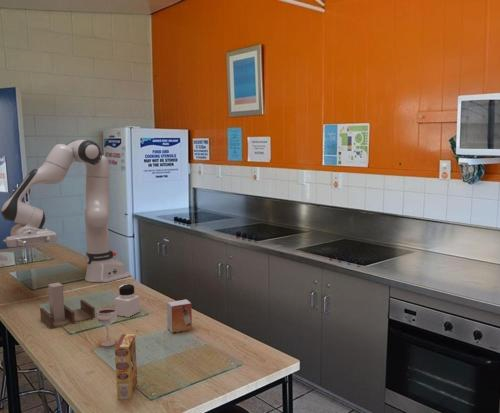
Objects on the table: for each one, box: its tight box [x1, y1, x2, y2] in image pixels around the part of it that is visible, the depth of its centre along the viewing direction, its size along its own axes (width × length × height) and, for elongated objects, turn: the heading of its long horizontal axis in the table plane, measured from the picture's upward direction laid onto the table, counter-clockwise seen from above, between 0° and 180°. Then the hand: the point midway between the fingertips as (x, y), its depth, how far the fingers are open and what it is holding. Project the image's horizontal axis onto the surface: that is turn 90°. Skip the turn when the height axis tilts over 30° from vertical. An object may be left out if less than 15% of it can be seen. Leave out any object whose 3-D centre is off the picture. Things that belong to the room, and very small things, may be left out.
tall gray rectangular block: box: [47, 281, 65, 322], centre depth 187 cm, size 4×5×14 cm
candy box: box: [114, 333, 138, 401], centre depth 134 cm, size 9×4×15 cm, turn 3°
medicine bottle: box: [114, 283, 140, 318], centre depth 195 cm, size 7×7×12 cm
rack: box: [39, 299, 96, 330], centre depth 190 cm, size 17×13×4 cm
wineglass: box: [96, 306, 118, 347], centre depth 167 cm, size 7×7×12 cm
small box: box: [166, 299, 193, 334], centre depth 179 cm, size 8×6×10 cm
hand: (36, 242), depth 201 cm, fingers open, 8 cm apart
